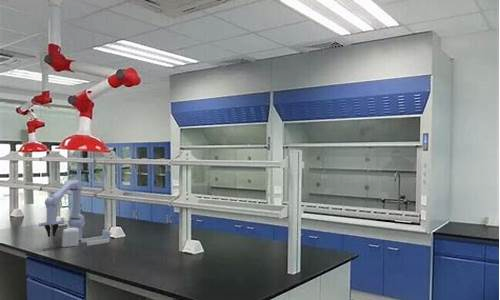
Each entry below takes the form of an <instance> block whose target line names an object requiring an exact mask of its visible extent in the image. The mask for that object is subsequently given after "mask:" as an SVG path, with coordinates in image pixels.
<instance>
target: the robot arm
mask: <svg viewBox="0 0 500 300" xmlns="http://www.w3.org/2000/svg"><path fill="white" fill-rule="evenodd" d="M82 187H83V183H82V181H81V180H80V179H78V180H76V179H75V180H73V179H71V180H70V179H66V180H65V181H64V184H63V186H62V187H61V188H60V190H55V191H54V193H53V194H52V195H50V196H48V197H46V198H45V200H44V206H45V209H46V222H45V221H44V222H39V223H38V226H39V228H40V227H44V228H45V230H46V232H47V233H46V234H47V237H48V238H50V237H51V228H52V236H53V237H55V236H56V233H57V231H58V228H59V226H60V225H64V223H65V222H64V220H58V219H57V218H58V217H57V213H58V212H57V206H58V205H59V203H60V201H61V199H62V198H64V196H65V194H66V193H67V191H70V192H71V193H72V214H71V215H70V216H69V218H68V222H67V223H68V226H69V228H78V230H79V241H81V239H84V238H83V228H84V226H85V223H86V221H85V216H84V214H81V206H82V205H81V197H82V196H81V195H82V191H83V190H82V189H83V188H82ZM51 226H52V227H51Z"/></svg>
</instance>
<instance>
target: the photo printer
mask: <svg viewBox="0 0 500 300" xmlns="http://www.w3.org/2000/svg"><path fill="white" fill-rule="evenodd" d="M61 233H62V235H61V237H62V238H61V239H62V240H61V247H62V248H69V247H70V248H71V247H78V246H79V245H80V244H79V243H80V240H79V230H78V228H70V227H68V228H65V229H63V230H62V232H61Z"/></svg>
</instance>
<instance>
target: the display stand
mask: <svg viewBox="0 0 500 300" xmlns="http://www.w3.org/2000/svg"><path fill="white" fill-rule="evenodd" d="M101 231H102V232H101V235H100V236H95V237H94V236H93V237H86V238H83V239H81V240H80V243H81V244H83V243H84V244H85V243H86V246H94V245H95V246H96V245H100V244H107V243H111V234H112V233H111V231H108V230H106V229H102V230H101Z"/></svg>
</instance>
